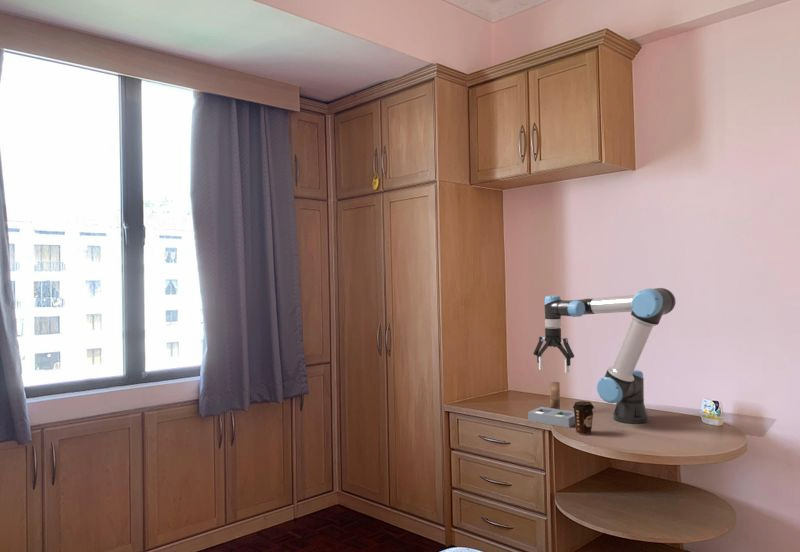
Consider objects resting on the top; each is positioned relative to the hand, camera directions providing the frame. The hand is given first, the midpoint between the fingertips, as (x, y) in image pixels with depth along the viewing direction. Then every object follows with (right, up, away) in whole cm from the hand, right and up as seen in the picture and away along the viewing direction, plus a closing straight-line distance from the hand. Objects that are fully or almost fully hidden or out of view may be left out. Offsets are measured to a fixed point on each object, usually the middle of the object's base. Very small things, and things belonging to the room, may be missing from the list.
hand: (553, 371), depth 281 cm
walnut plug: (+1, -21, 0) cm, 21 cm away
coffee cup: (+4, -21, -35) cm, 41 cm away
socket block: (-3, -21, -14) cm, 25 cm away
